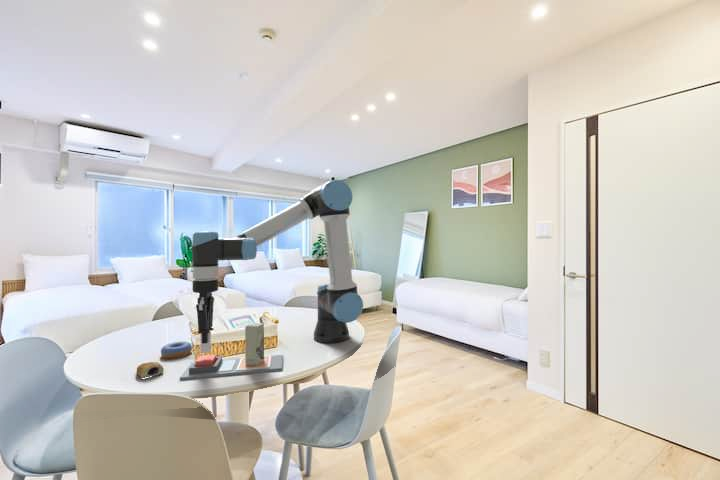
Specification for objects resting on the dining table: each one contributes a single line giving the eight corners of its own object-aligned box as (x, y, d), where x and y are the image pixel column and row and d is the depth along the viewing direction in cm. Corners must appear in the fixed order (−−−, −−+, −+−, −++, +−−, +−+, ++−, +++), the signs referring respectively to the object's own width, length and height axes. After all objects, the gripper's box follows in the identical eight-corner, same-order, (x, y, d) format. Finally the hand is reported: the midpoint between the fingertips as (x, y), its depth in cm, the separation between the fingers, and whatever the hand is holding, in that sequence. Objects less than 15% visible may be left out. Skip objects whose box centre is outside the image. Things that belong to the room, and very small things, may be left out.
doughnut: (169, 349, 121) (169, 338, 121) (196, 350, 122) (196, 338, 122) (154, 362, 111) (154, 349, 111) (184, 362, 112) (184, 350, 112)
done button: (216, 360, 105) (216, 354, 105) (212, 366, 100) (212, 360, 100) (199, 361, 104) (199, 355, 104) (195, 367, 99) (195, 361, 99)
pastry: (131, 373, 101) (131, 361, 101) (155, 366, 106) (155, 355, 106) (141, 381, 95) (141, 368, 95) (166, 374, 100) (166, 362, 100)
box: (257, 366, 102) (257, 326, 102) (244, 365, 103) (244, 326, 103) (264, 360, 108) (264, 322, 108) (252, 359, 108) (252, 322, 108)
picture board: (282, 356, 113) (282, 349, 113) (282, 370, 102) (282, 362, 102) (191, 364, 107) (191, 357, 107) (179, 380, 95) (179, 371, 95)
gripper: (198, 277, 108) (198, 346, 108) (186, 282, 95) (186, 360, 95) (222, 276, 109) (222, 344, 109) (213, 281, 97) (213, 358, 97)
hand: (205, 351), depth 102 cm, fingers closed
